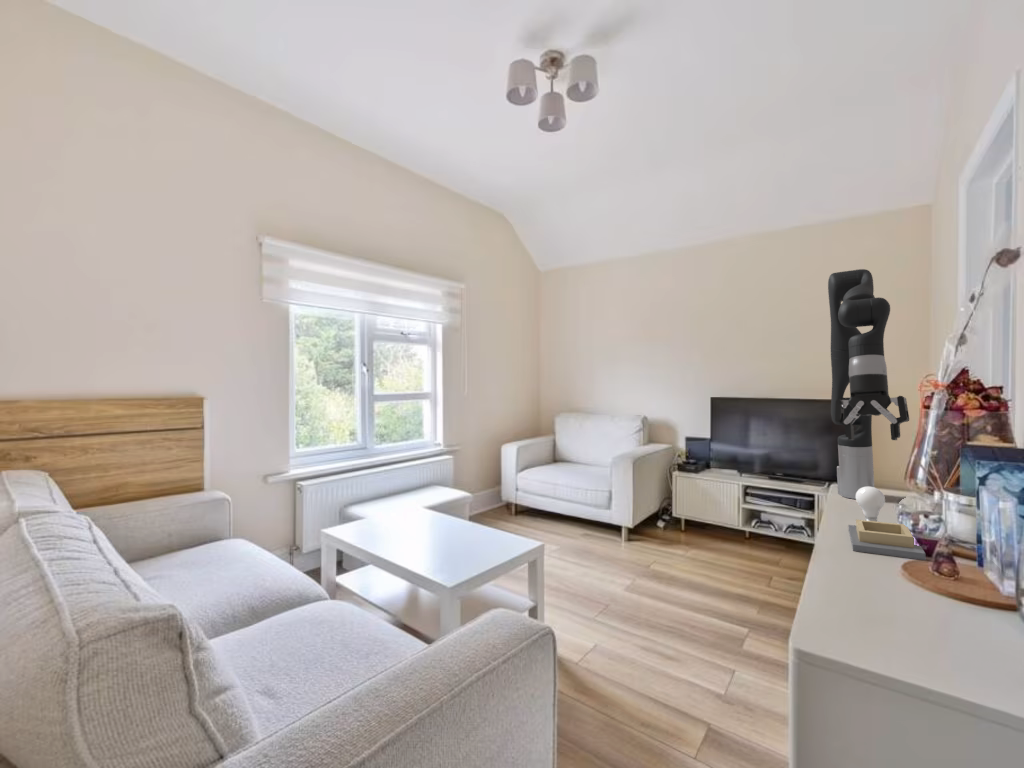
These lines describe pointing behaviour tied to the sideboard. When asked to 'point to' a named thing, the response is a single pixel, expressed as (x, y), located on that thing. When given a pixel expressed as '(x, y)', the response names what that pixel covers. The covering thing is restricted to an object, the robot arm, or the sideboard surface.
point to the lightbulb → (870, 502)
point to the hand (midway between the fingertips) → (872, 440)
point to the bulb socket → (884, 539)
